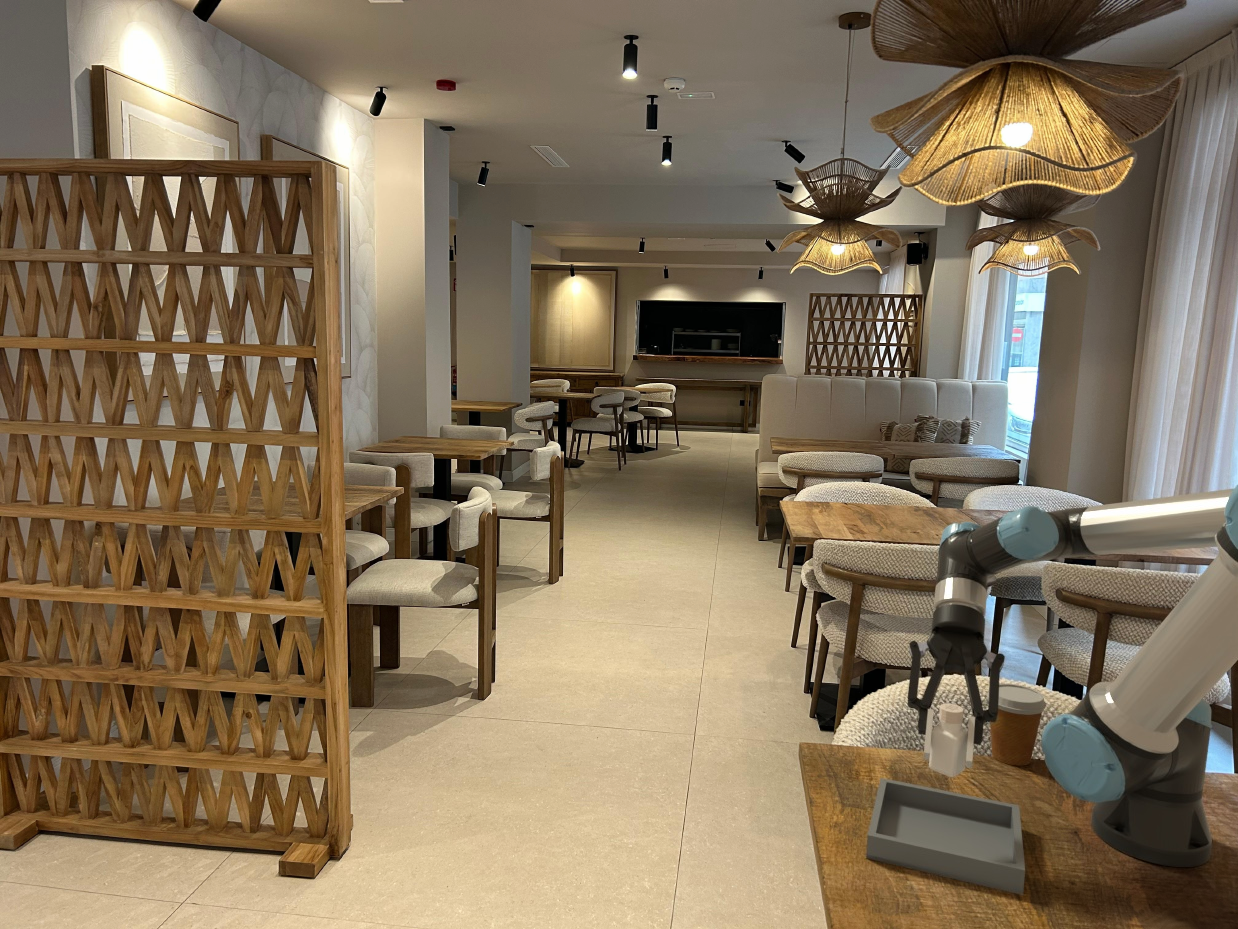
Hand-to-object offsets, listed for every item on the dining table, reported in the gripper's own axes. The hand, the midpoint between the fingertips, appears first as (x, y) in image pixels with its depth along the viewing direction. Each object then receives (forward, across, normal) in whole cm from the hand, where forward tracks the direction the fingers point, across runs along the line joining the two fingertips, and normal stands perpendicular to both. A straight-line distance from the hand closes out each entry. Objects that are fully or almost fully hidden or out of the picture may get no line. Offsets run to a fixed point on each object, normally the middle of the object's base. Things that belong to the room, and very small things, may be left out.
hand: (947, 760), depth 120 cm
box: (+8, 0, -12) cm, 14 cm away
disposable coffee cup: (-16, -10, -37) cm, 41 cm away
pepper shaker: (0, 0, -5) cm, 5 cm away
